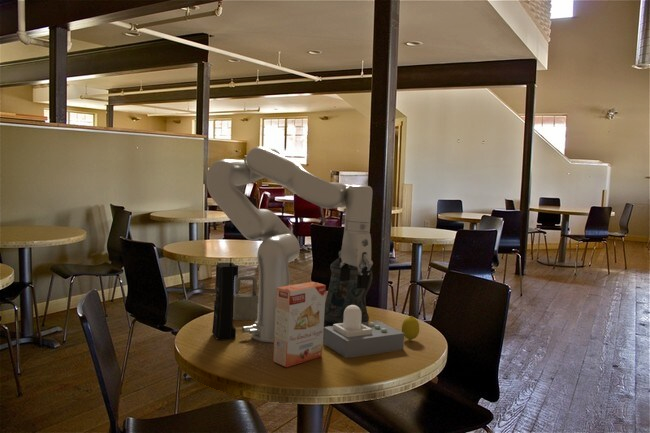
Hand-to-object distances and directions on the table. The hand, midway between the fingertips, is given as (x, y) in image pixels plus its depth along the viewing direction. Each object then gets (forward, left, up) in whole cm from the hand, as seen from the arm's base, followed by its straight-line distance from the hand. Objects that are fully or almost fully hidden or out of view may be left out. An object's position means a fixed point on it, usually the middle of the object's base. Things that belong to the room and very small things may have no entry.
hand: (353, 284), depth 156 cm
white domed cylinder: (0, 0, -14) cm, 14 cm away
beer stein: (+11, +22, -20) cm, 31 cm away
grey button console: (+4, 0, -19) cm, 20 cm away
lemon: (+21, -1, -20) cm, 29 cm away
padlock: (-19, +40, -20) cm, 48 cm away
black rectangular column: (-32, +24, -20) cm, 44 cm away
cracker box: (-19, -3, -20) cm, 27 cm away
